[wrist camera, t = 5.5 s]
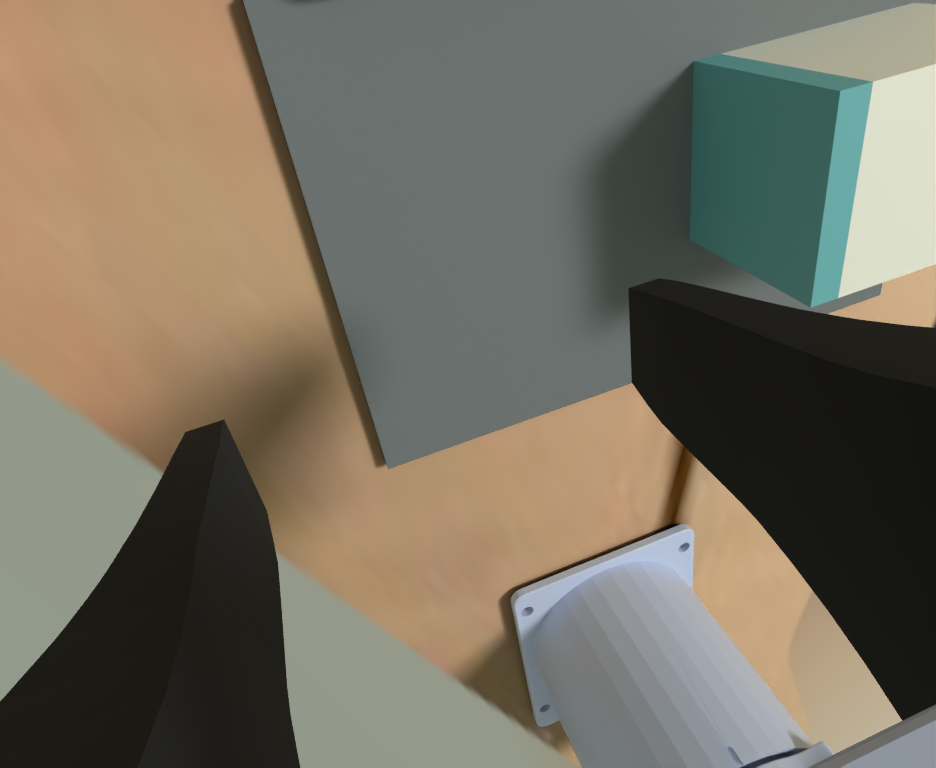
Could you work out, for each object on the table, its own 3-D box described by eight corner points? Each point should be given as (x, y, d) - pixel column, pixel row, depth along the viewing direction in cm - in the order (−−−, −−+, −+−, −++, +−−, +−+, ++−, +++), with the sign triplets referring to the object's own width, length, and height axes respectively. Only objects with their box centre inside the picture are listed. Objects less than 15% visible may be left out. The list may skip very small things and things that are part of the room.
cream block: (690, 239, 21) (881, 178, 22) (810, 307, 17) (1036, 228, 18) (693, 60, 18) (913, 2, 19) (840, 91, 14) (1106, 15, 15)
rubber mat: (871, 290, 25) (880, 294, 25) (385, 461, 22) (388, 468, 21) (957, -159, 18) (971, -161, 17) (240, -6, 14) (241, -5, 14)
